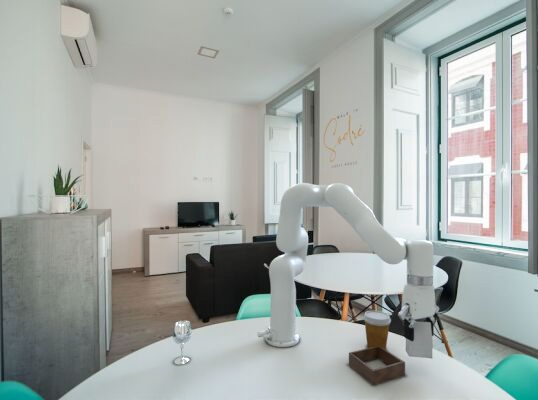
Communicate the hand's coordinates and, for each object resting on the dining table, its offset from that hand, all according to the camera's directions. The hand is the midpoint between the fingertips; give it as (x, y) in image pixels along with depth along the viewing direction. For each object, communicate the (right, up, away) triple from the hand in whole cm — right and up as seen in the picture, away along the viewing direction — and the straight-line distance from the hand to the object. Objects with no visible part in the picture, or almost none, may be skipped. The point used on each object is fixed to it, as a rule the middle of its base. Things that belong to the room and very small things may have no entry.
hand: (418, 336), depth 92 cm
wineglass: (-75, -10, +4) cm, 76 cm away
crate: (-13, -11, 0) cm, 17 cm away
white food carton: (0, -6, 0) cm, 6 cm away
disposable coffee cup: (-9, -11, +14) cm, 20 cm away
